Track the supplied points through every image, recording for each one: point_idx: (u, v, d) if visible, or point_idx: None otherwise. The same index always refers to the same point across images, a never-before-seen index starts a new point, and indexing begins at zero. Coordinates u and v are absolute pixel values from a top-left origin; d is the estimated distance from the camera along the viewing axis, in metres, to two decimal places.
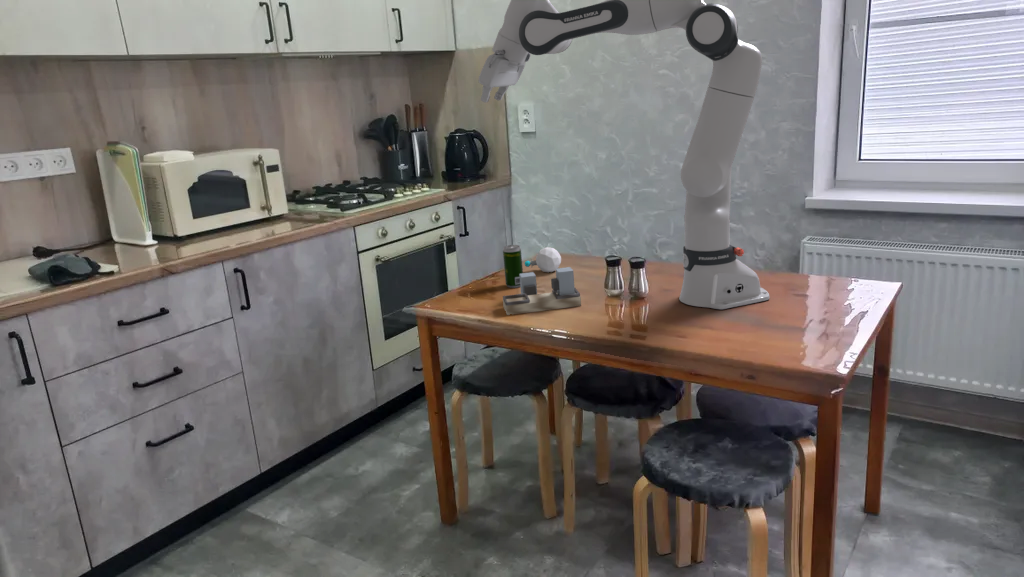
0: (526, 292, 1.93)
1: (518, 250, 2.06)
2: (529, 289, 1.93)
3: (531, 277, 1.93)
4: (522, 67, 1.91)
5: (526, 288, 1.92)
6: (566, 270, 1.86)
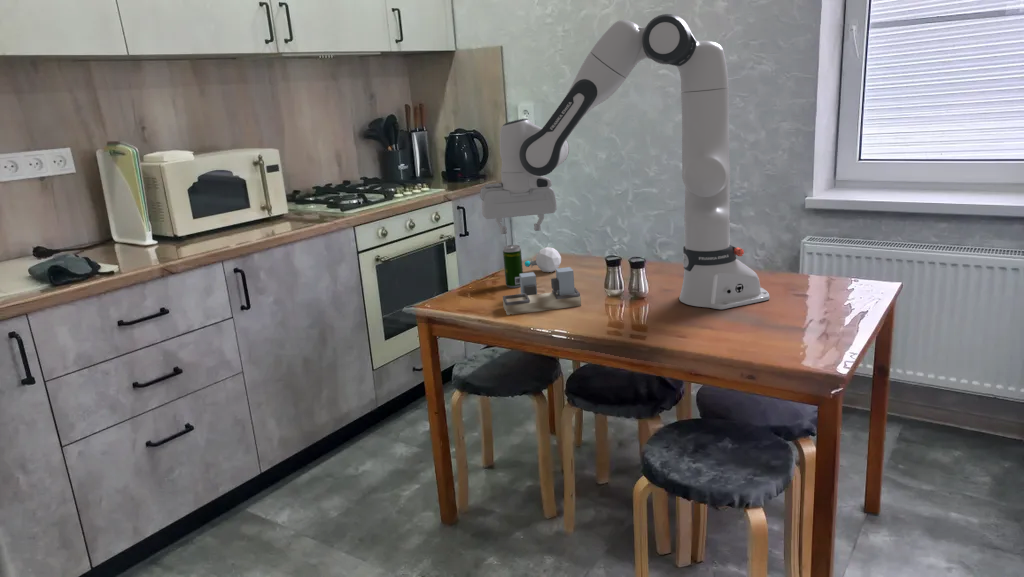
0: (526, 292, 1.93)
1: (518, 250, 2.06)
2: (529, 289, 1.93)
3: (531, 277, 1.93)
4: (549, 194, 1.88)
5: (526, 288, 1.92)
6: (566, 270, 1.86)
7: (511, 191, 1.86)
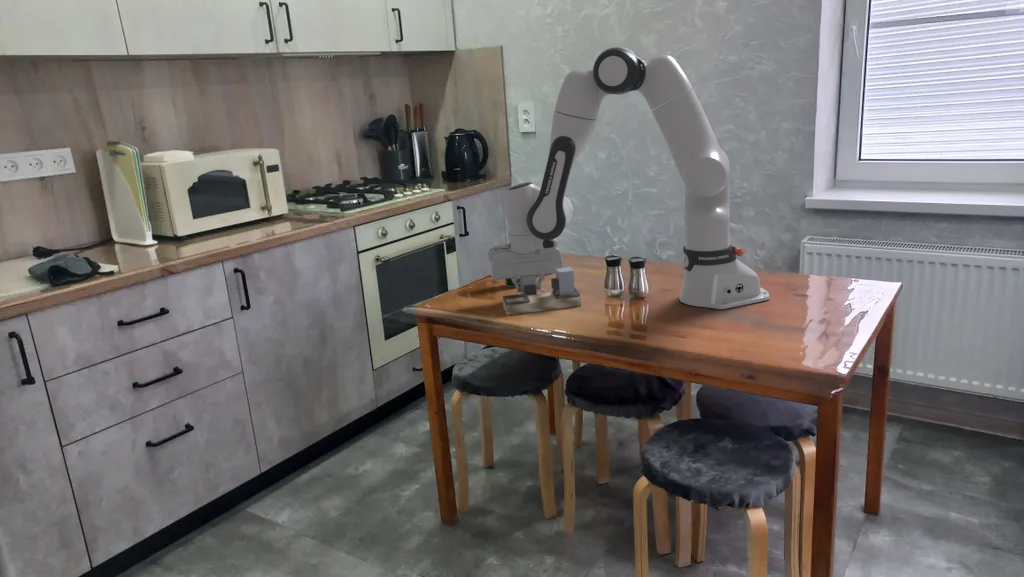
0: (526, 292, 1.93)
1: None
2: (529, 289, 1.93)
3: (531, 277, 1.93)
4: (556, 254, 1.92)
5: (526, 288, 1.92)
6: (566, 270, 1.86)
7: (518, 252, 1.91)
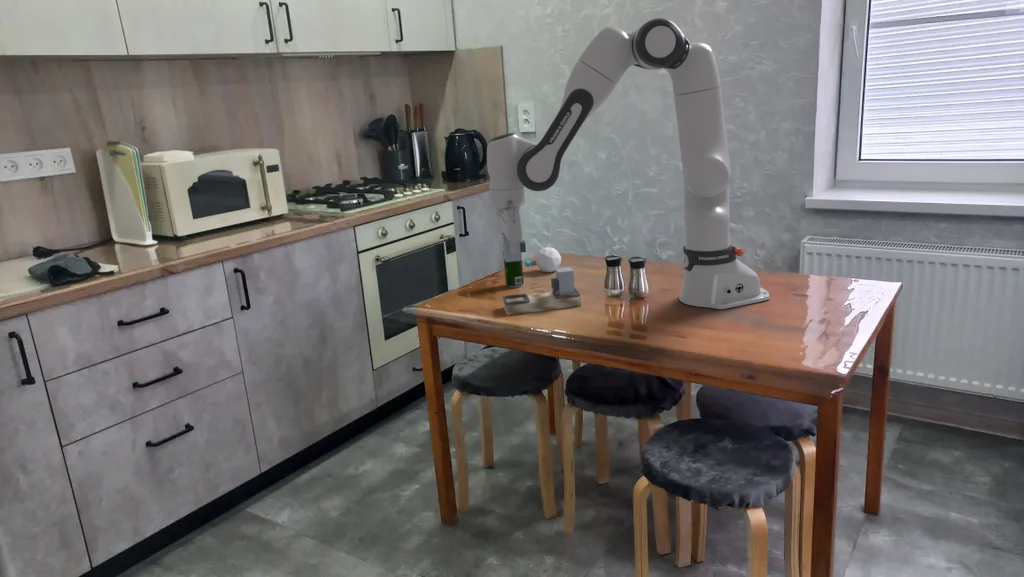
0: (525, 248, 1.83)
1: None
2: None
3: None
4: None
5: None
6: (566, 270, 1.86)
7: (517, 207, 1.79)
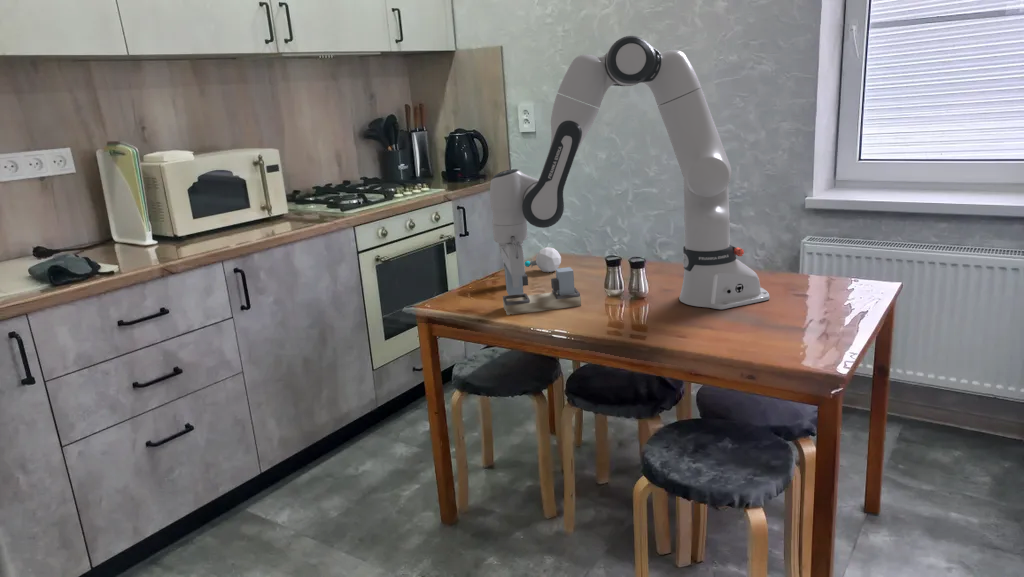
0: (527, 281, 1.85)
1: None
2: None
3: None
4: None
5: None
6: (566, 270, 1.86)
7: (520, 242, 1.81)
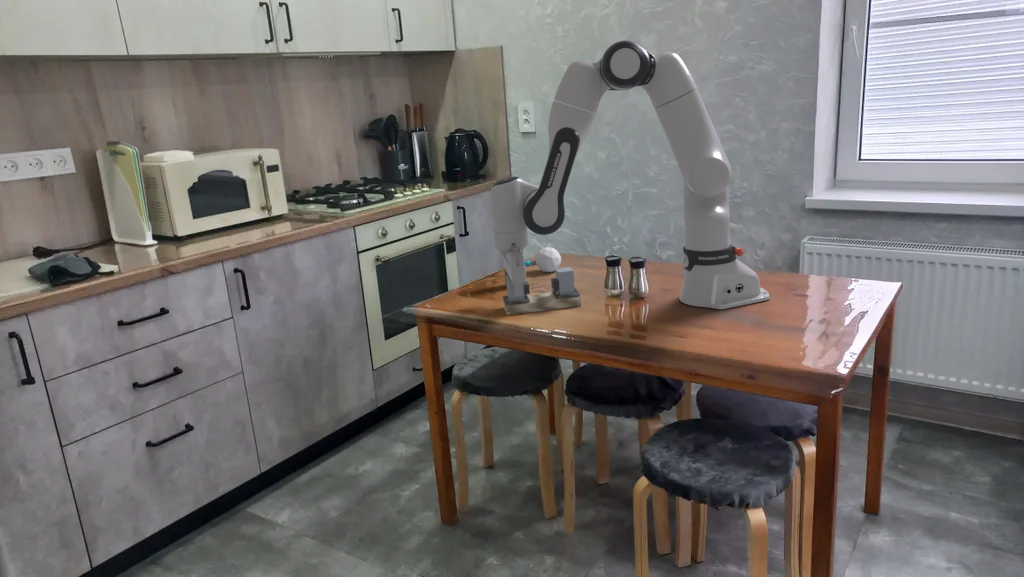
0: None
1: None
2: None
3: None
4: None
5: (528, 285, 1.86)
6: (566, 270, 1.86)
7: (521, 249, 1.82)
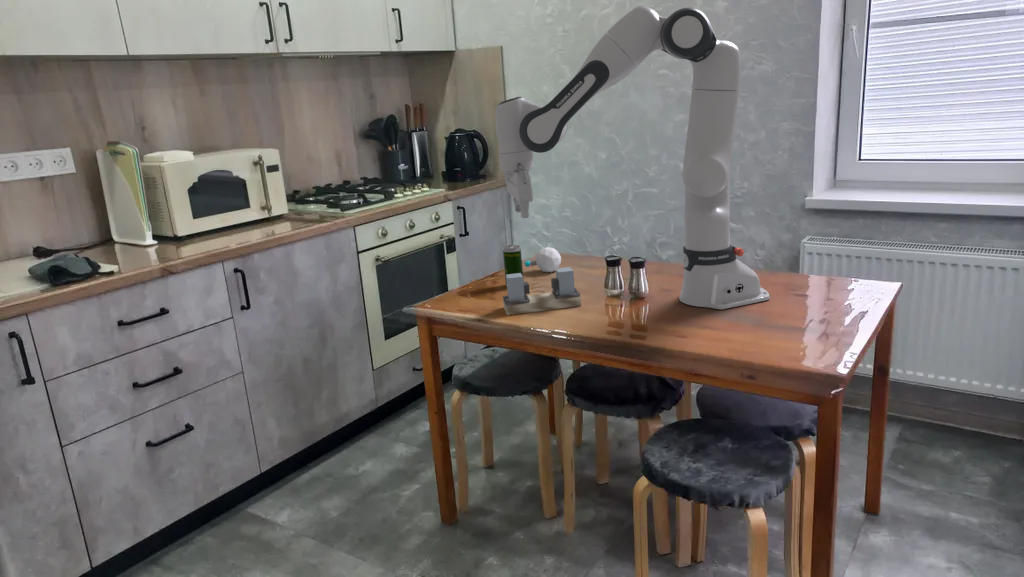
0: None
1: (518, 250, 2.06)
2: None
3: None
4: None
5: (528, 285, 1.86)
6: (566, 270, 1.86)
7: (526, 170, 1.81)
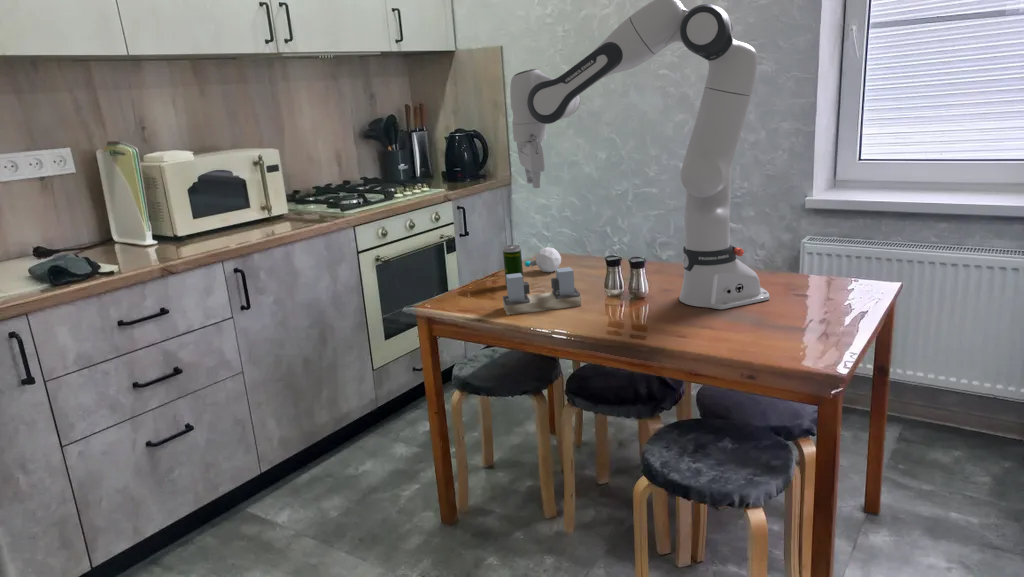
0: None
1: (518, 250, 2.06)
2: None
3: None
4: None
5: (528, 285, 1.86)
6: (566, 270, 1.86)
7: (539, 141, 1.86)
